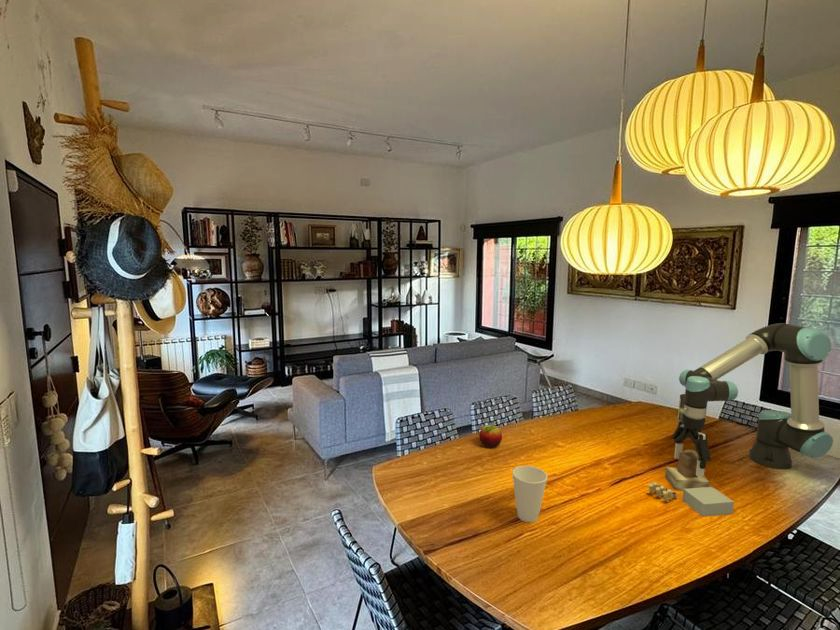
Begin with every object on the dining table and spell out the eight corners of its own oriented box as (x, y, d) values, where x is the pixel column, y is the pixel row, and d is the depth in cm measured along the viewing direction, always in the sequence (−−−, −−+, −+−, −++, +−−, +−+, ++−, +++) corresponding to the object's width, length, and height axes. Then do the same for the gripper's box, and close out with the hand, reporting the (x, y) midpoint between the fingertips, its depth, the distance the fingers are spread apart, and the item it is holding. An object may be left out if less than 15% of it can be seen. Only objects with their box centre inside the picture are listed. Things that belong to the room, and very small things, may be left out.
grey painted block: (710, 498, 168) (711, 486, 168) (732, 514, 159) (734, 501, 158) (682, 501, 167) (683, 488, 166) (702, 517, 157) (704, 504, 156)
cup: (538, 530, 148) (541, 486, 145) (505, 519, 154) (507, 476, 151) (549, 513, 158) (551, 471, 155) (517, 502, 164) (519, 462, 161)
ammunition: (666, 493, 163) (679, 487, 167) (647, 483, 169) (660, 478, 173) (664, 505, 164) (678, 499, 167) (646, 495, 170) (659, 490, 174)
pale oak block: (695, 480, 182) (697, 469, 181) (708, 494, 172) (709, 482, 171) (664, 478, 183) (666, 467, 182) (675, 491, 173) (676, 479, 173)
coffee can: (702, 426, 237) (705, 400, 234) (681, 424, 238) (684, 399, 236) (694, 418, 247) (696, 394, 244) (674, 417, 248) (676, 393, 246)
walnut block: (689, 471, 179) (691, 452, 178) (697, 477, 174) (699, 458, 173) (677, 471, 179) (679, 452, 178) (685, 477, 174) (687, 458, 173)
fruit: (505, 443, 213) (505, 424, 211) (496, 452, 204) (497, 431, 202) (484, 438, 218) (485, 419, 217) (475, 446, 209) (475, 426, 208)
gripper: (665, 404, 185) (661, 452, 188) (706, 429, 160) (700, 483, 164) (683, 404, 185) (678, 451, 189) (726, 429, 161) (719, 483, 164)
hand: (688, 466), depth 176 cm, fingers open, 13 cm apart
